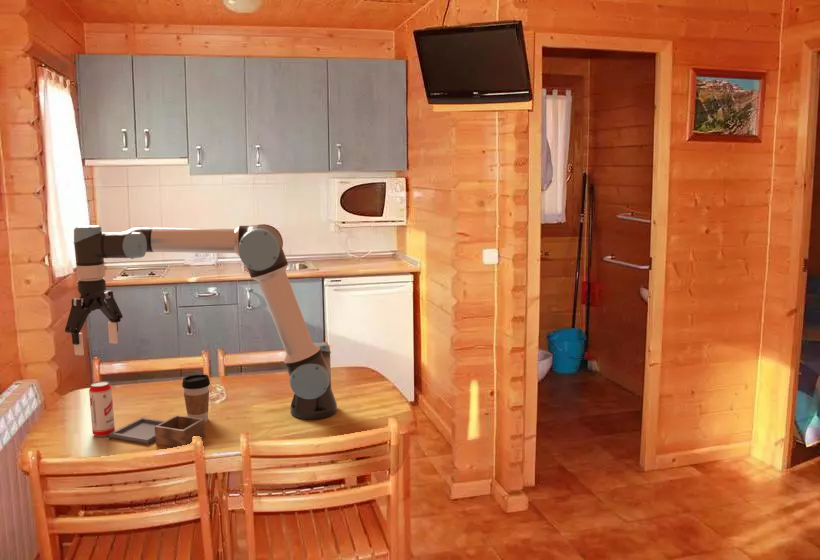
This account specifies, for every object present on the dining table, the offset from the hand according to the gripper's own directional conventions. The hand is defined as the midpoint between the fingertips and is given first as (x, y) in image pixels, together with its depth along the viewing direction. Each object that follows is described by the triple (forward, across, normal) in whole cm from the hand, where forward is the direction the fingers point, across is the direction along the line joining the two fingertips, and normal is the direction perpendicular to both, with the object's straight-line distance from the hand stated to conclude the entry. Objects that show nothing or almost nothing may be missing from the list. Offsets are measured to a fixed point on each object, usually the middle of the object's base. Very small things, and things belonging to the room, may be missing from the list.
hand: (97, 348), depth 216 cm
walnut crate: (+27, -3, +26) cm, 37 cm away
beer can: (+27, 0, 0) cm, 27 cm away
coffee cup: (+27, -18, +21) cm, 39 cm away
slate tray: (+27, -4, +12) cm, 30 cm away
